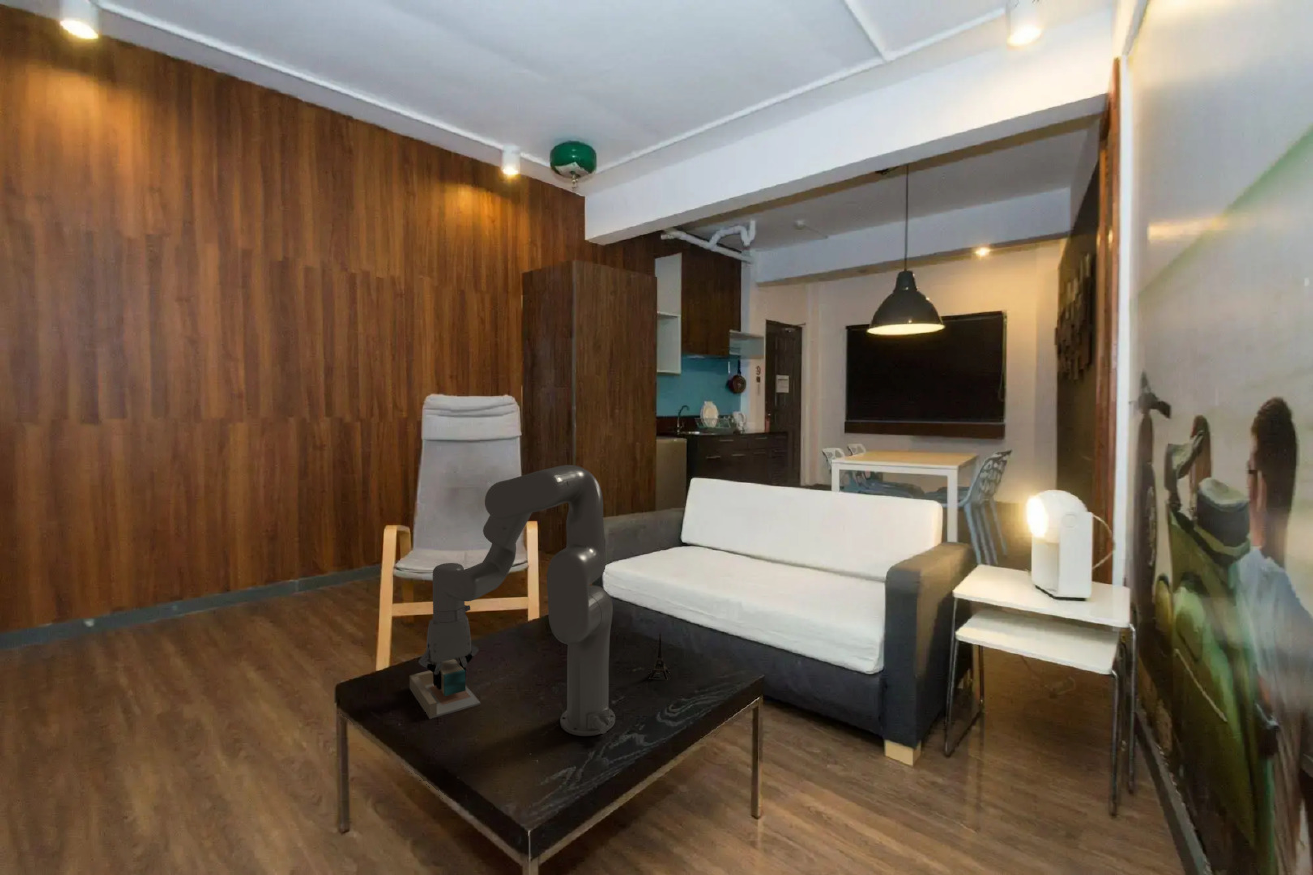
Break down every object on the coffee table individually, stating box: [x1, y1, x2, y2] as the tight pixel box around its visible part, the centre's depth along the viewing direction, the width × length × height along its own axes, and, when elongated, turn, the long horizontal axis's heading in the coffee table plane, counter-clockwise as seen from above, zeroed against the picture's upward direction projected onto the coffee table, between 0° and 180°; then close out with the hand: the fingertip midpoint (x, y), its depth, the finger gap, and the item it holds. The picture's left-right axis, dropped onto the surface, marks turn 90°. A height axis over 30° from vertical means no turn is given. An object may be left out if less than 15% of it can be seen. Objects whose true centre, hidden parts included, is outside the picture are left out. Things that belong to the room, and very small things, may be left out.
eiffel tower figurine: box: [631, 632, 670, 680], centre depth 165 cm, size 15×10×13 cm
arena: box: [409, 669, 481, 720], centre depth 152 cm, size 18×12×4 cm, turn 36°
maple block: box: [440, 659, 467, 696], centre depth 153 cm, size 5×9×5 cm, turn 36°
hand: (449, 683), depth 153 cm, fingers closed on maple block, 5 cm apart
